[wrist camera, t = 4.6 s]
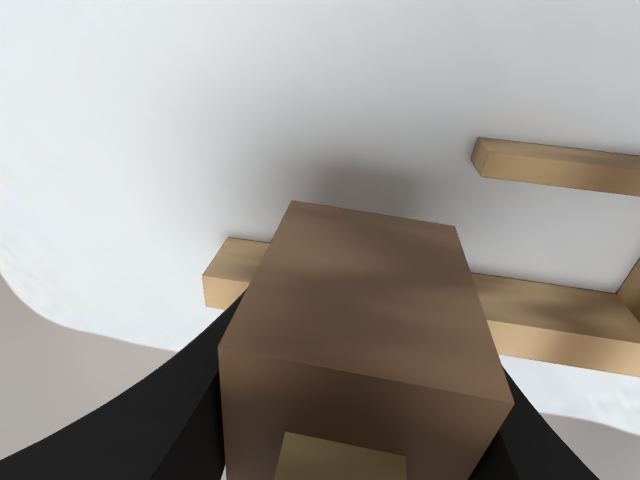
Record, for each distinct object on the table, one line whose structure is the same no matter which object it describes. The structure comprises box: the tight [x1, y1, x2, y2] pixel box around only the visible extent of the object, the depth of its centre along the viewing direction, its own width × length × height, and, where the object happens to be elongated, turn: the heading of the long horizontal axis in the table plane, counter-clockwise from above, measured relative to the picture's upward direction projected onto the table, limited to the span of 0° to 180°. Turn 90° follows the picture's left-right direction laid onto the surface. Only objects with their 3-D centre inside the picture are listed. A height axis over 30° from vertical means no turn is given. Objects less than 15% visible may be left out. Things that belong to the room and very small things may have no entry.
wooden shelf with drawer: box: [202, 137, 640, 377], centre depth 17 cm, size 22×9×4 cm, turn 86°
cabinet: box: [218, 201, 515, 480], centre depth 10 cm, size 5×5×7 cm
